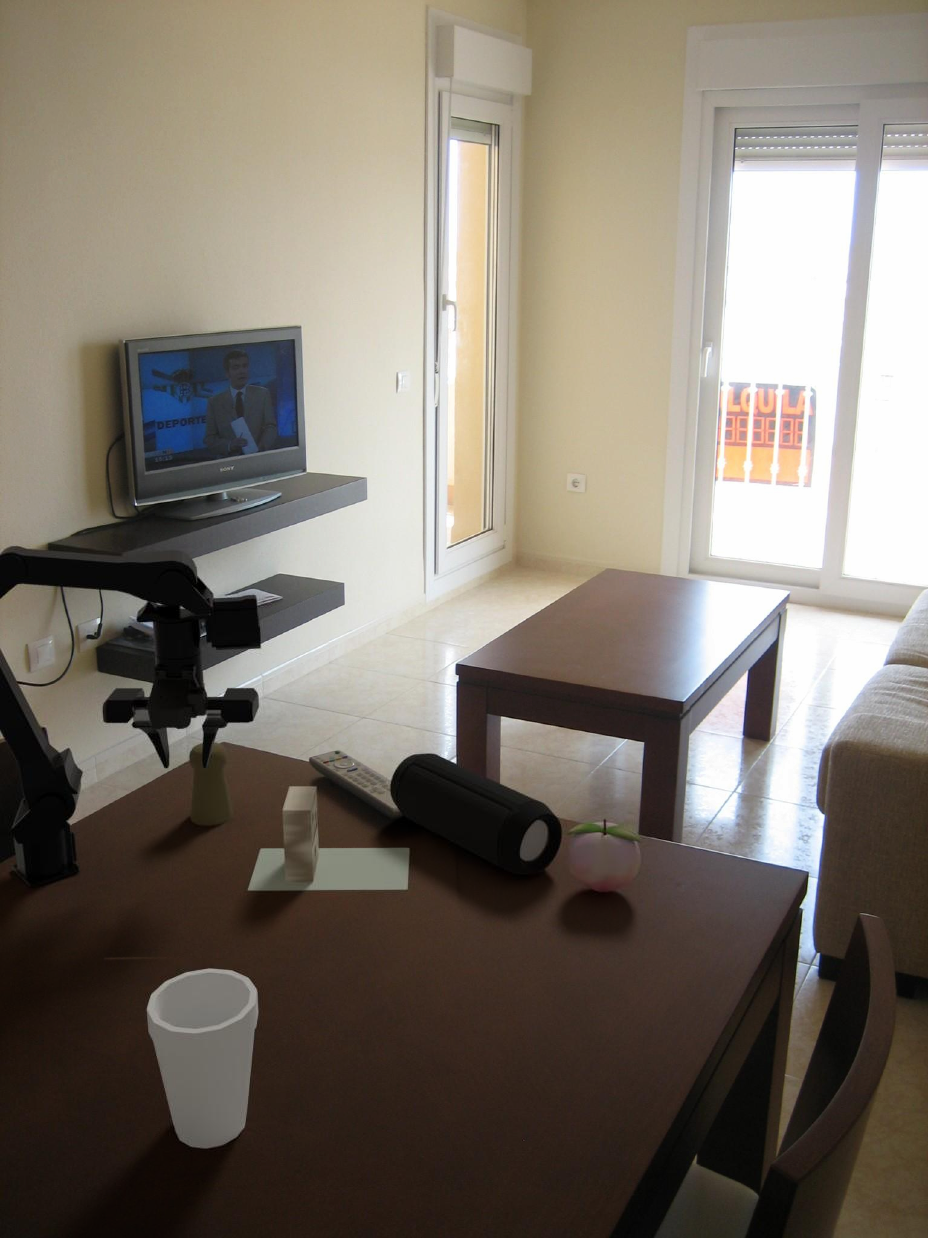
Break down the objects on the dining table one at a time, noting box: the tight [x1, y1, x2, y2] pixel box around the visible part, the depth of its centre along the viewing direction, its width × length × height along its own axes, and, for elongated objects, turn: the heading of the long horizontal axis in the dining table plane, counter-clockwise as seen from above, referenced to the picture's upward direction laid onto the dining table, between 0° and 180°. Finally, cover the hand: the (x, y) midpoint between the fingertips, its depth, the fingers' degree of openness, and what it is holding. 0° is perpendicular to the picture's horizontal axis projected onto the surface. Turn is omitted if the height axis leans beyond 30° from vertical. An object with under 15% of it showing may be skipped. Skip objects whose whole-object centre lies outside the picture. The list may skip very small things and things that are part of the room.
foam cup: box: [146, 968, 259, 1149], centre depth 103 cm, size 10×9×13 cm
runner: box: [247, 847, 411, 892], centre depth 149 cm, size 20×11×1 cm, turn 91°
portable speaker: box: [389, 752, 563, 875], centre depth 155 cm, size 26×10×10 cm, turn 42°
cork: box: [188, 742, 234, 827], centre depth 162 cm, size 6×6×11 cm
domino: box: [282, 785, 319, 882], centre depth 148 cm, size 4×7×10 cm, turn 1°
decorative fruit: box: [566, 818, 644, 893], centre depth 143 cm, size 9×8×10 cm
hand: (186, 767), depth 148 cm, fingers open, 5 cm apart
